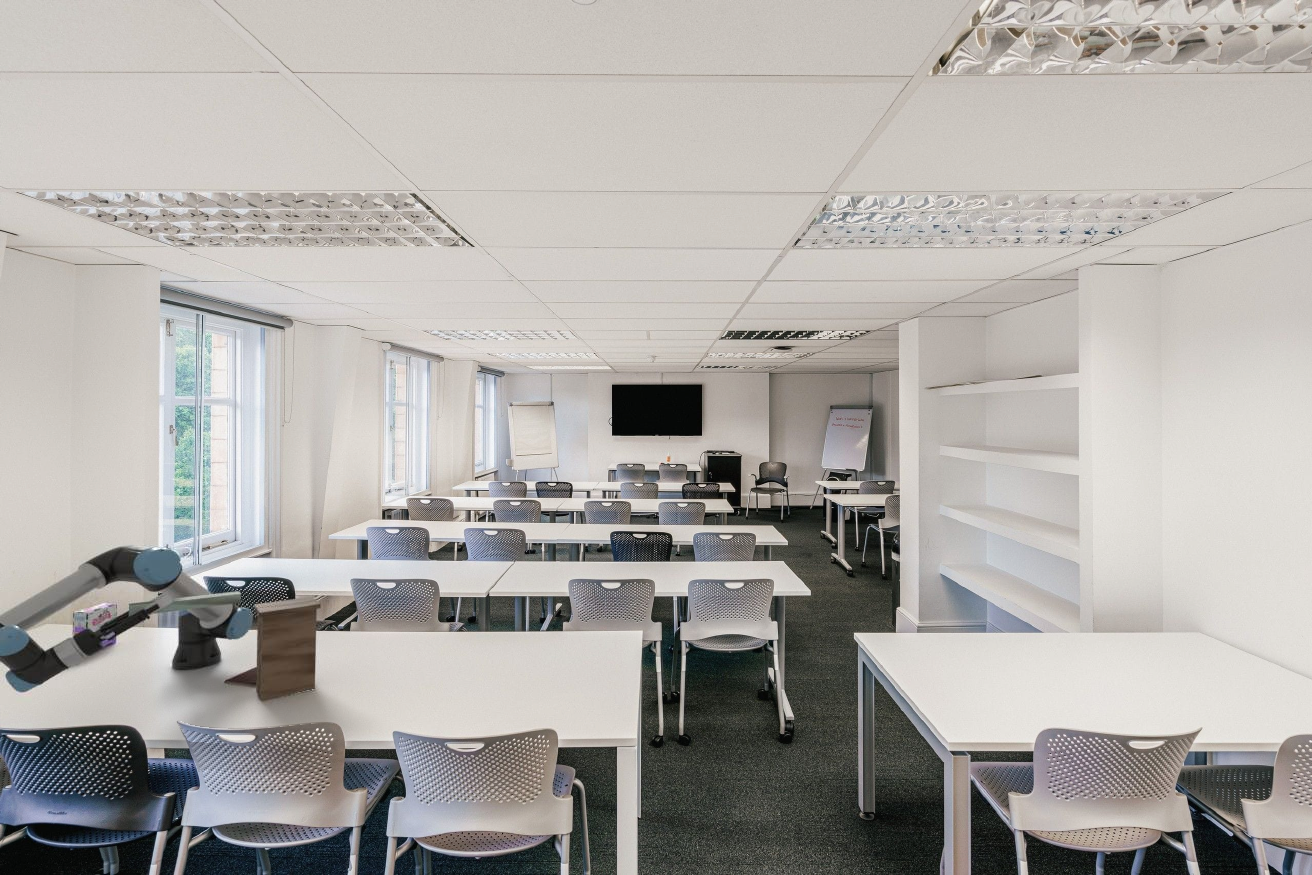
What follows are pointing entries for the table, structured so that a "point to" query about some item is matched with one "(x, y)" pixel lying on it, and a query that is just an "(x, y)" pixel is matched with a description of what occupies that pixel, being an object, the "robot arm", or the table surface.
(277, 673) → the stand
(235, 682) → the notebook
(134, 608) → the slat
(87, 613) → the candy box
